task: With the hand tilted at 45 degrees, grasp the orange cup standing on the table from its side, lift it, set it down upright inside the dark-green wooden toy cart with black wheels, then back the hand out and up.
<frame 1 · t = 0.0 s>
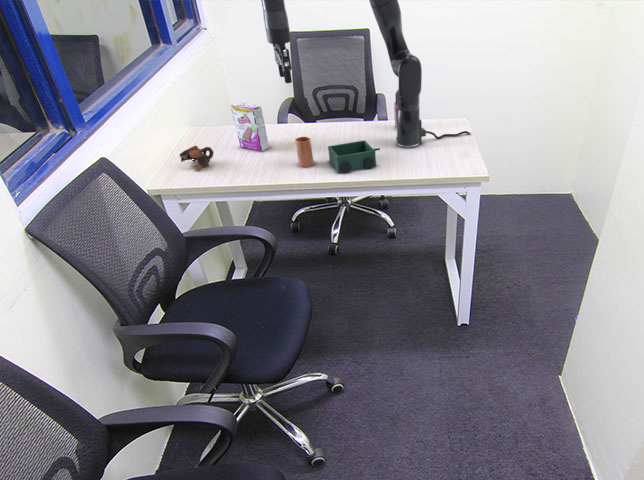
hand: (285, 79, 175), 29 cm above the table, tool pointing down, fingers open, 8 cm apart
pottery mug: (200, 165, 192), on the table
candy bar box: (255, 148, 205), on the table
cart: (352, 164, 192), on the table
orange cup: (306, 164, 192), on the table
soda can: (403, 128, 222), on the table
cart wheels: (352, 164, 192), on the table
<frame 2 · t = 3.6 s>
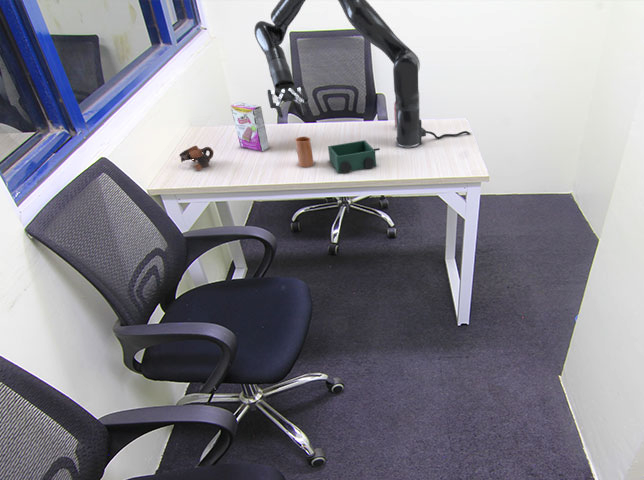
hand: (293, 115, 191), 15 cm above the table, tool tilted 45°, fingers open, 8 cm apart
nothing on the table moved.
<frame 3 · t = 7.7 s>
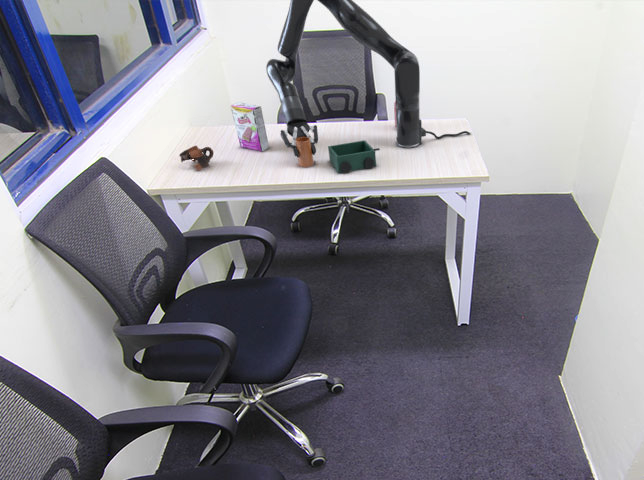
hand: (306, 155, 188), 4 cm above the table, tool tilted 45°, fingers closed on orange cup, 5 cm apart
orange cup: (306, 164, 192), on the table, touching gripper
everything else where it was.
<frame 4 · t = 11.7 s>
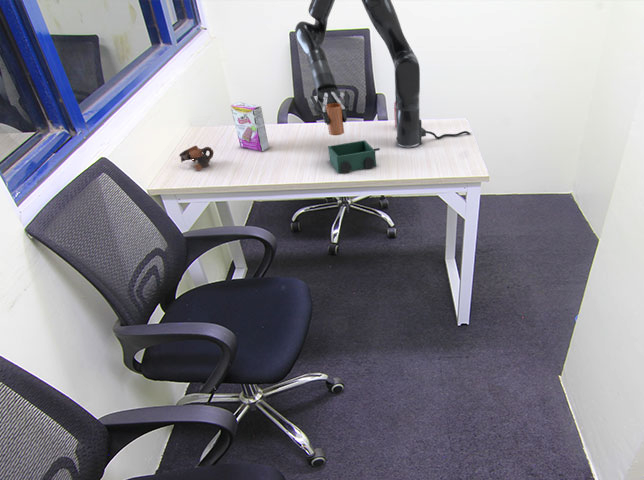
hand: (336, 122, 181), 16 cm above the table, tool tilted 45°, fingers closed on orange cup, 5 cm apart
orange cup: (336, 132, 185), point 12 cm above the table, touching gripper
everything else where it was.
when the fingers open (5 cm above the table, at t = 15.9 s): orange cup stays where it is, resting on cart.
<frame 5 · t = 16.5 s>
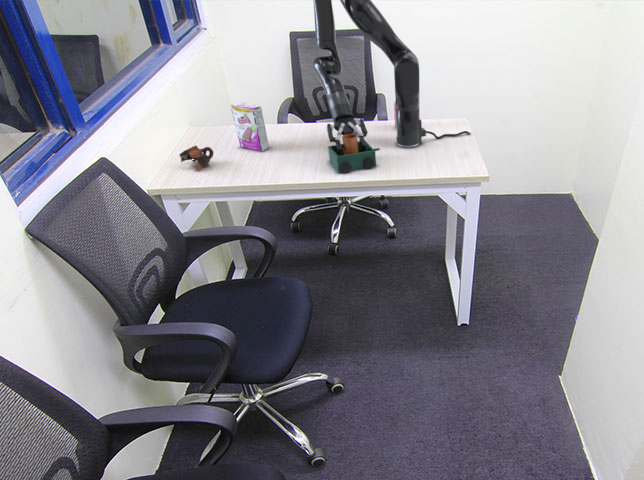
hand: (352, 149, 187), 6 cm above the table, tool tilted 45°, fingers open, 8 cm apart
orange cup: (352, 161, 192), point 1 cm above the table, touching cart
everything else where it was.
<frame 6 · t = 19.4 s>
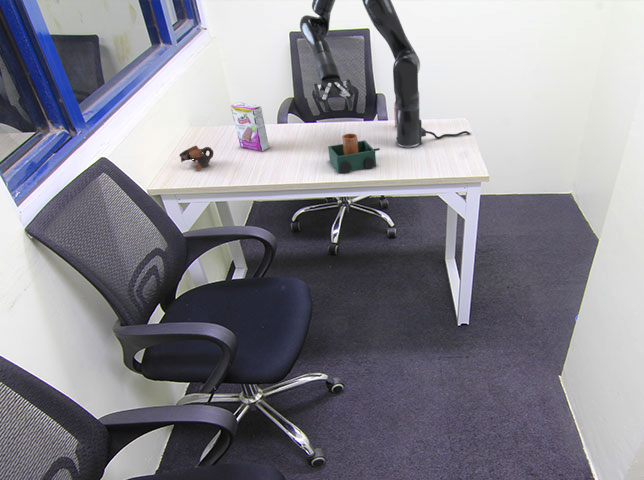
hand: (339, 109, 189), 17 cm above the table, tool tilted 45°, fingers open, 8 cm apart
nothing on the table moved.
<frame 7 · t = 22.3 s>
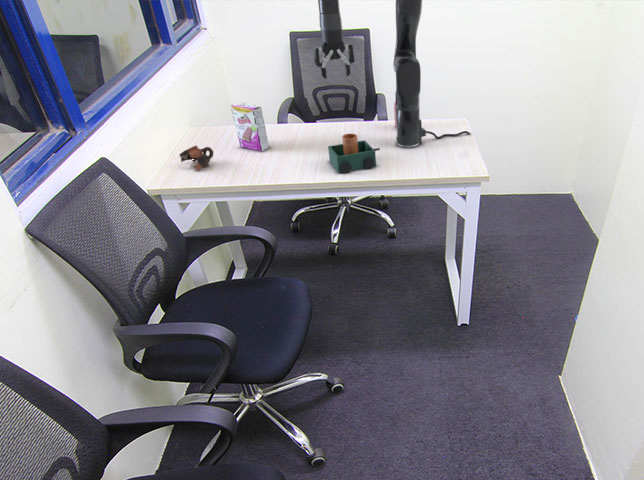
hand: (336, 77, 188), 26 cm above the table, tool pointing down, fingers open, 8 cm apart
nothing on the table moved.
at the end: orange cup inside the target area in the cart (0.2 cm from its centre), point 1.0 cm above the cart's base; orange cup tilted 0°; the gripper is holding nothing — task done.
